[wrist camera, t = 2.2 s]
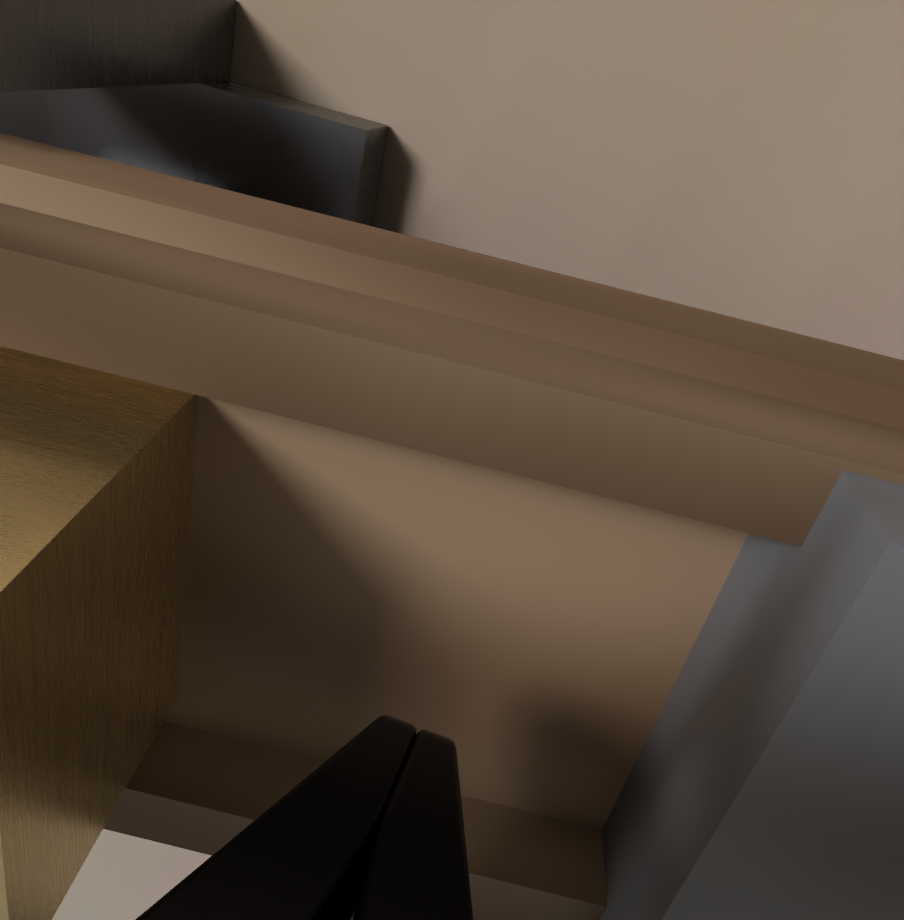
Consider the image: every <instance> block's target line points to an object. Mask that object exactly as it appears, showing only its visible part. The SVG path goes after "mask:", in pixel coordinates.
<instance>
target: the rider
mask: <svg viewBox="0 0 904 920" xmlns="http://www.w3.org/2000/svg"><path fill="white" fill-rule="evenodd" d="M197 405H198V395H195V394H191V393H187V392H183V391H179V390H175V389H171V388H167V387H163V386H159V385H155V384H151V383H147V382H143V381H139V380H135V379H131V378H127V377H123V376H119V375H115V374H111V373H107V372H103V371H99V370H95V369H91V368H87V367H83V366H79V365H75V364H71V363H67V362H63V361H59V360H55V359H51V358H47V357H43V356H39V355H35V354H31V353H27V352H23V351H19V350H15V349H11V348H7V347H3V346H0V920H52V918H53V916H54V914H55V913H56V911H57V909H58V907H59V906H60V904H61V902H62V900H63V899H64V897H65V895H66V893H67V891H68V890H69V888H70V886H71V884H72V883H73V881H74V879H75V877H76V875H77V874H78V872H79V870H80V868H81V867H82V865H83V863H84V861H85V859H86V858H87V856H88V854H89V852H90V851H91V849H92V847H93V845H94V844H95V842H96V840H97V838H98V836H99V835H100V833H101V831H102V829H103V828H104V826H105V824H106V822H107V820H108V819H109V817H110V815H111V813H112V812H113V810H114V808H115V806H116V804H117V803H118V801H119V799H120V797H121V796H122V794H123V792H124V790H125V789H126V787H127V785H128V783H129V781H130V780H131V778H132V776H133V774H134V773H135V771H136V769H137V767H138V765H139V764H140V762H141V760H142V758H143V757H144V755H145V753H146V751H147V749H148V748H149V746H150V744H151V742H152V741H153V739H154V737H155V735H156V734H157V732H158V730H159V728H160V726H161V725H162V723H163V721H164V719H165V718H166V716H167V714H168V712H169V710H170V709H171V707H172V705H173V703H174V702H175V700H176V698H177V696H178V684H179V669H180V654H181V640H182V625H183V610H184V596H185V581H186V566H187V552H188V537H189V522H190V508H191V493H192V478H193V463H194V449H195V434H196V419H197Z"/></svg>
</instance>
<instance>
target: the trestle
mask: <svg viewBox="0 0 904 920" xmlns="http://www.w3.org/2000/svg"><path fill="white" fill-rule="evenodd" d="M235 4H236V0H0V133H4V134H8V135H12V136H16V137H20V138H23V139H27V140H31V141H35V142H39V143H43V144H47V145H51V146H55V147H59V148H63V149H67V150H71V151H75V152H79V153H83V154H87V155H91V156H95V157H99V158H103V159H107V160H111V161H115V162H119V163H123V164H127V165H131V166H134V167H138V168H142V169H146V170H150V171H154V172H158V173H162V174H166V175H170V176H174V177H178V178H182V179H186V180H190V181H194V182H198V183H202V184H206V185H210V186H214V187H218V188H222V189H226V190H230V191H234V192H238V193H242V194H245V195H249V196H253V197H257V198H261V199H265V200H269V201H273V202H277V203H281V204H285V205H289V206H293V207H297V208H301V209H305V210H309V211H313V212H317V213H321V214H325V215H329V216H333V217H337V218H341V219H345V220H349V221H353V222H356V223H360V224H364V225H368V226H372V220H373V214H374V208H375V202H376V196H377V190H378V184H379V178H380V172H381V166H382V160H383V154H384V148H385V142H386V136H387V131H388V125H384V124H381V123H377V122H373V121H370V120H366V119H362V118H359V117H355V116H352V115H348V114H344V113H341V112H337V111H334V110H330V109H326V108H323V107H319V106H316V105H312V104H308V103H305V102H301V101H298V100H294V99H290V98H287V97H283V96H279V95H276V94H272V93H269V92H265V91H261V90H258V89H254V88H251V87H247V86H243V85H240V84H236V83H233V82H230V72H231V58H232V45H233V31H234V18H235Z"/></svg>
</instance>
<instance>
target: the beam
mask: <svg viewBox="0 0 904 920" xmlns="http://www.w3.org/2000/svg"><path fill="white" fill-rule="evenodd" d="M0 346H3V347H7V348H11V349H15V350H19V351H23V352H27V353H31V354H35V355H39V356H43V357H47V358H51V359H55V360H59V361H63V362H67V363H71V364H75V365H79V366H83V367H87V368H91V369H95V370H99V371H103V372H107V373H111V374H115V375H119V376H123V377H127V378H131V379H135V380H139V381H143V382H147V383H151V384H155V385H159V386H163V387H167V388H171V389H175V390H179V391H183V392H187V393H191V394H195V395H198V405H197V419H196V434H195V449H194V463H193V478H192V493H191V508H190V522H189V537H188V552H187V566H186V581H185V596H184V610H183V625H182V640H181V654H180V669H179V684H178V696H177V698H176V700H175V702H174V703H173V705H172V707H171V709H170V710H169V712H168V714H167V716H166V718H165V719H164V721H163V723H162V725H161V726H160V728H159V730H158V732H157V734H156V735H155V737H154V739H153V741H152V742H151V744H150V746H149V748H148V749H147V751H146V753H145V755H144V757H143V758H142V760H141V762H140V764H139V765H138V767H137V769H136V771H135V773H134V774H133V776H132V778H131V780H130V781H129V783H128V785H127V787H126V789H125V790H124V792H123V794H122V796H121V797H120V799H119V801H118V803H117V804H116V806H115V808H114V810H113V812H112V813H111V815H110V817H109V819H108V820H107V822H106V824H105V826H104V828H103V829H107V830H111V831H115V832H119V833H123V834H127V835H131V836H136V837H140V838H144V839H148V840H152V841H156V842H160V843H164V844H168V845H172V846H176V847H180V848H184V849H188V850H192V851H196V852H201V853H205V854H209V855H214V854H215V853H216V852H217V851H218V850H220V849H221V848H222V847H223V846H224V845H226V844H227V843H228V842H229V841H230V840H232V839H233V838H234V837H235V836H236V835H238V834H239V833H240V832H241V831H242V830H244V829H245V828H246V827H247V826H248V825H250V824H251V823H252V822H253V821H254V820H256V819H257V818H258V817H259V816H260V815H262V814H263V813H264V812H265V811H266V810H268V809H269V808H270V807H271V806H272V805H274V804H275V803H276V802H277V801H278V800H280V799H281V798H282V797H283V796H284V795H286V794H287V793H288V792H289V791H290V790H292V789H293V788H294V787H295V786H296V785H298V784H299V783H300V782H301V781H302V780H304V779H305V778H306V777H307V776H308V775H310V774H311V773H312V772H313V771H314V770H316V769H317V768H318V767H319V766H320V765H322V764H323V763H324V762H325V761H326V760H328V759H329V758H330V757H331V756H332V755H334V754H335V753H336V752H337V751H338V750H340V749H341V748H342V747H343V746H344V745H346V744H347V743H348V742H349V741H350V740H352V739H353V738H354V737H355V736H356V735H358V734H359V733H360V732H361V731H362V730H363V729H365V728H366V727H367V726H368V725H369V724H371V723H372V722H373V721H374V720H376V719H377V718H378V717H380V716H383V715H388V716H391V717H394V718H396V719H399V720H402V721H404V722H407V723H410V724H412V725H414V726H415V728H416V730H417V733H418V732H419V731H420V730H423V729H425V730H428V731H431V732H434V733H436V734H439V735H442V736H444V737H447V738H450V739H451V740H453V741H454V743H455V746H456V751H457V761H458V771H459V781H460V791H461V801H462V811H463V821H464V831H465V841H466V851H467V861H468V871H469V881H470V891H471V901H472V911H473V920H904V360H900V359H896V358H892V357H888V356H884V355H880V354H876V353H872V352H868V351H864V350H860V349H856V348H852V347H848V346H844V345H840V344H836V343H832V342H828V341H824V340H820V339H816V338H812V337H808V336H804V335H800V334H796V333H793V332H789V331H785V330H781V329H777V328H773V327H769V326H765V325H761V324H757V323H753V322H749V321H745V320H741V319H737V318H733V317H729V316H725V315H721V314H717V313H713V312H709V311H705V310H701V309H697V308H693V307H689V306H685V305H682V304H678V303H674V302H670V301H666V300H662V299H658V298H654V297H650V296H646V295H642V294H638V293H634V292H630V291H626V290H622V289H618V288H614V287H610V286H606V285H602V284H598V283H594V282H590V281H586V280H582V279H578V278H574V277H571V276H567V275H563V274H559V273H555V272H551V271H547V270H543V269H539V268H535V267H531V266H527V265H523V264H519V263H515V262H511V261H507V260H503V259H499V258H495V257H491V256H487V255H483V254H479V253H475V252H471V251H467V250H463V249H460V248H456V247H452V246H448V245H444V244H440V243H436V242H432V241H428V240H424V239H420V238H416V237H412V236H408V235H404V234H400V233H396V232H392V231H388V230H384V229H380V228H376V227H372V226H368V225H364V224H360V223H356V222H353V221H349V220H345V219H341V218H337V217H333V216H329V215H325V214H321V213H317V212H313V211H309V210H305V209H301V208H297V207H293V206H289V205H285V204H281V203H277V202H273V201H269V200H265V199H261V198H257V197H253V196H249V195H245V194H242V193H238V192H234V191H230V190H226V189H222V188H218V187H214V186H210V185H206V184H202V183H198V182H194V181H190V180H186V179H182V178H178V177H174V176H170V175H166V174H162V173H158V172H154V171H150V170H146V169H142V168H138V167H134V166H131V165H127V164H123V163H119V162H115V161H111V160H107V159H103V158H99V157H95V156H91V155H87V154H83V153H79V152H75V151H71V150H67V149H63V148H59V147H55V146H51V145H47V144H43V143H39V142H35V141H31V140H27V139H23V138H20V137H16V136H12V135H8V134H4V133H0ZM416 735H417V734H416Z"/></svg>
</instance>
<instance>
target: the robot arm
mask: <svg viewBox="0 0 904 920" xmlns="http://www.w3.org/2000/svg"><path fill="white" fill-rule="evenodd" d="M416 734H417V735H416ZM352 919H353V920H473V911H472V901H471V891H470V881H469V871H468V861H467V851H466V841H465V831H464V821H463V811H462V801H461V791H460V781H459V771H458V761H457V751H456V746H455V743H454V741H453V740H451V739H450V738H447V737H444V736H442V735H439V734H436V733H434V732H431V731H428V730H425V729H423V730H420V731H419V732H418V733H417V730H416V728H415V726H414V725H412V724H410V723H407V722H404V721H402V720H399V719H396V718H394V717H391V716H388V715H383V716H380V717H378V718H377V719H376V720H374V721H373V722H372V723H371V724H369V725H368V726H367V727H366V728H365V729H363V730H362V731H361V732H360V733H359V734H358V735H356V736H355V737H354V738H353V739H352V740H350V741H349V742H348V743H347V744H346V745H344V746H343V747H342V748H341V749H340V750H338V751H337V752H336V753H335V754H334V755H332V756H331V757H330V758H329V759H328V760H326V761H325V762H324V763H323V764H322V765H320V766H319V767H318V768H317V769H316V770H314V771H313V772H312V773H311V774H310V775H308V776H307V777H306V778H305V779H304V780H302V781H301V782H300V783H299V784H298V785H296V786H295V787H294V788H293V789H292V790H290V791H289V792H288V793H287V794H286V795H284V796H283V797H282V798H281V799H280V800H278V801H277V802H276V803H275V804H274V805H272V806H271V807H270V808H269V809H268V810H266V811H265V812H264V813H263V814H262V815H260V816H259V817H258V818H257V819H256V820H254V821H253V822H252V823H251V824H250V825H248V826H247V827H246V828H245V829H244V830H242V831H241V832H240V833H239V834H238V835H236V836H235V837H234V838H233V839H232V840H230V841H229V842H228V843H227V844H226V845H224V846H223V847H222V848H221V849H220V850H218V851H217V852H216V853H215V854H214V855H212V856H211V857H210V858H209V859H208V860H206V861H205V862H204V863H203V864H202V865H200V866H199V867H198V868H197V869H196V870H194V871H193V872H192V873H191V874H190V875H188V876H187V877H186V878H185V879H184V880H182V881H181V882H180V883H179V884H178V885H176V886H175V887H174V888H173V889H172V890H170V891H169V892H168V893H167V894H166V895H164V896H163V897H162V898H161V899H160V900H158V901H157V902H156V903H155V904H154V905H152V906H151V907H150V908H149V909H148V910H147V911H145V912H144V913H143V914H142V915H141V916H139V917H138V918H137V919H136V920H352Z"/></svg>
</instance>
